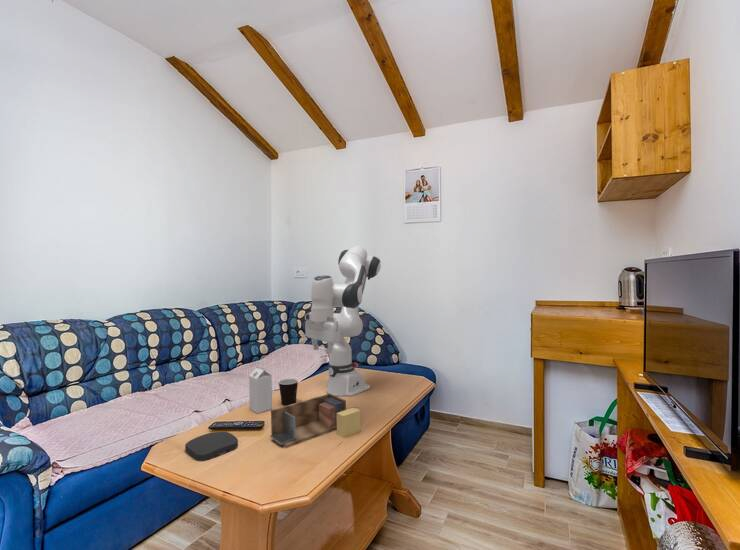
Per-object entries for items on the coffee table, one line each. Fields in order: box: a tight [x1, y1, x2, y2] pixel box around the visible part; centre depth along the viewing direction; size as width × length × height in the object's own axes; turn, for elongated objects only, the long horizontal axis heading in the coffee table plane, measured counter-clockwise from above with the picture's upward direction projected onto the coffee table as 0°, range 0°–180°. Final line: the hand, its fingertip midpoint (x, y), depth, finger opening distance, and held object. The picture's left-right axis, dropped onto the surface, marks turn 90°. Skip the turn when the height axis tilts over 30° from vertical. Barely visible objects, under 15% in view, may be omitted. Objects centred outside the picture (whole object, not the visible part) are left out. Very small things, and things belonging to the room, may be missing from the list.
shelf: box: [270, 393, 347, 449], centre depth 141 cm, size 26×11×10 cm, turn 131°
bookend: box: [269, 411, 296, 446], centre depth 133 cm, size 6×8×8 cm
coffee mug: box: [278, 378, 299, 407], centre depth 172 cm, size 12×9×10 cm
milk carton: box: [248, 365, 273, 414], centre depth 164 cm, size 7×7×19 cm
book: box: [336, 407, 361, 439], centre depth 139 cm, size 4×8×8 cm, turn 131°
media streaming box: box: [184, 431, 239, 462], centre depth 129 cm, size 15×15×3 cm
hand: (322, 351), depth 148 cm, fingers open, 8 cm apart
